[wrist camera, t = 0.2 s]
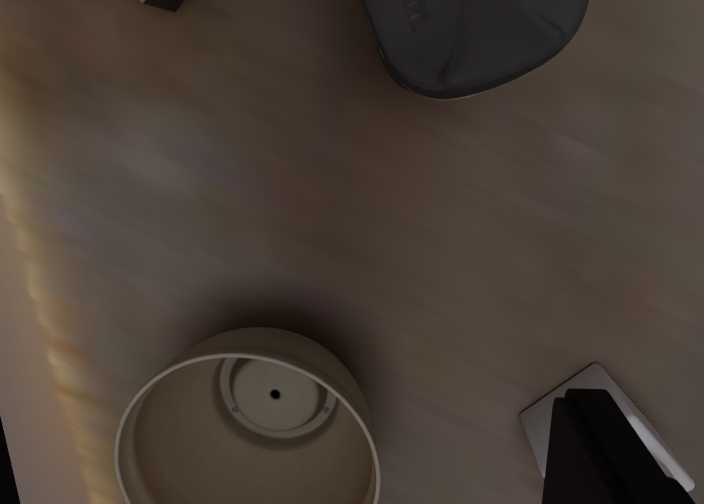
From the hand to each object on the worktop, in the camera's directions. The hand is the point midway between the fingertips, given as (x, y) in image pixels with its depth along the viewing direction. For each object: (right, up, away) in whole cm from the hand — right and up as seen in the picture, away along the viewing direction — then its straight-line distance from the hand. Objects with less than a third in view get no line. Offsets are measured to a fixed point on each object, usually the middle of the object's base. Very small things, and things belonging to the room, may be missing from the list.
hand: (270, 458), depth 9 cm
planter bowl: (-4, -7, +35) cm, 36 cm away
